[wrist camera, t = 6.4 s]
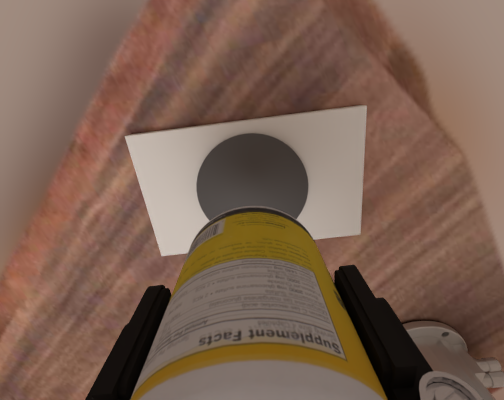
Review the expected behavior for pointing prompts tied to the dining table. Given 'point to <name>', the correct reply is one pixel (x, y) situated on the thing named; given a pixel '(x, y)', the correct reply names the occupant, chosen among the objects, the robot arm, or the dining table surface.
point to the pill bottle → (256, 320)
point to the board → (281, 127)
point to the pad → (252, 176)
